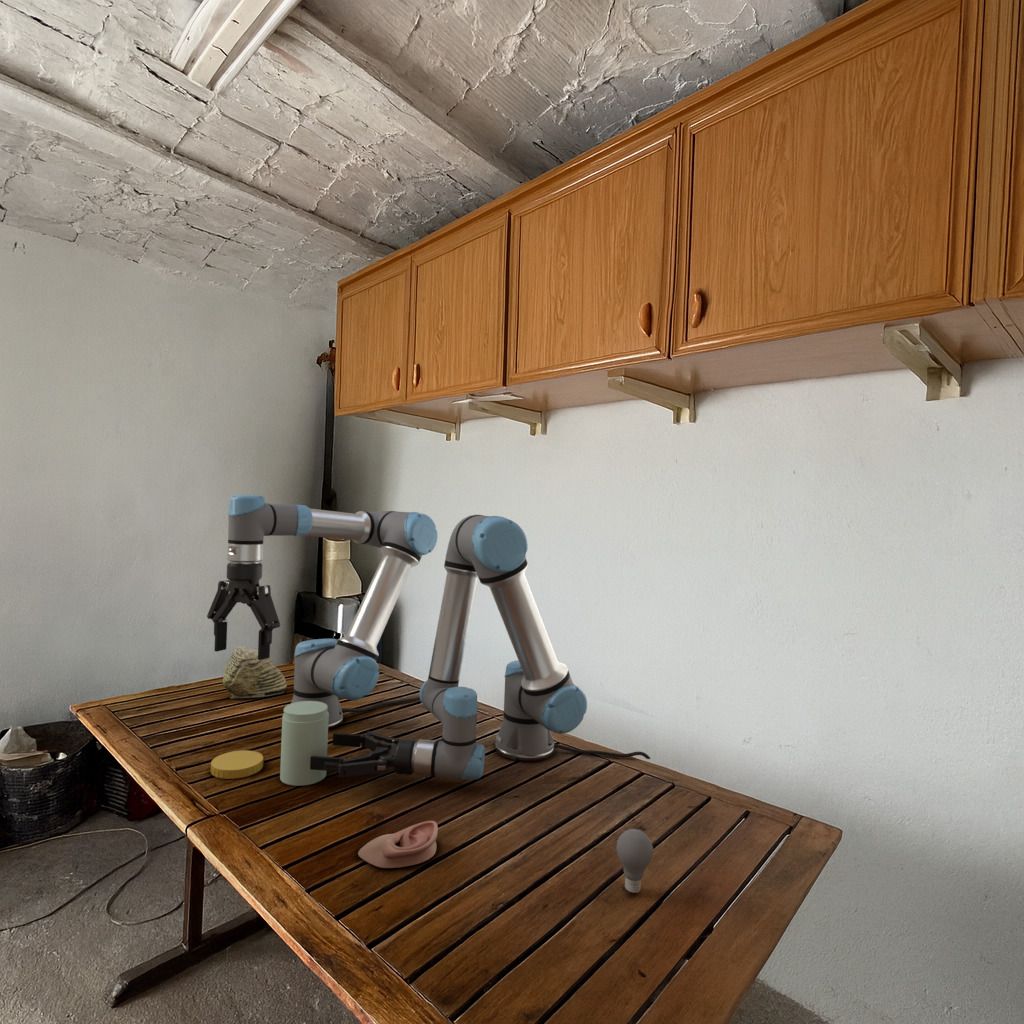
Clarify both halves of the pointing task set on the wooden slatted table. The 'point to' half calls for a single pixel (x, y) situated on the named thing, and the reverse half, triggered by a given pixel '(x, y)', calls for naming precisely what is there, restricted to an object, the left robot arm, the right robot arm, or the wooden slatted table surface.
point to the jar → (303, 741)
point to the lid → (236, 764)
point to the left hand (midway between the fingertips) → (241, 654)
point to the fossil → (252, 675)
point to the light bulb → (634, 857)
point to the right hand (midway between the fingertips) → (322, 750)
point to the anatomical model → (402, 846)
